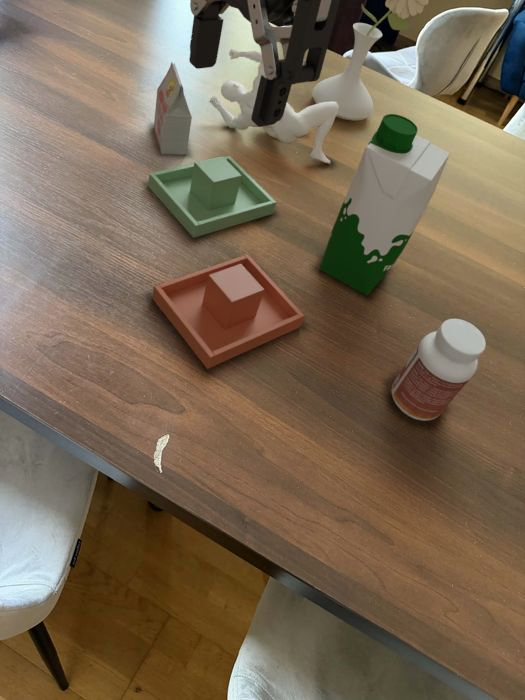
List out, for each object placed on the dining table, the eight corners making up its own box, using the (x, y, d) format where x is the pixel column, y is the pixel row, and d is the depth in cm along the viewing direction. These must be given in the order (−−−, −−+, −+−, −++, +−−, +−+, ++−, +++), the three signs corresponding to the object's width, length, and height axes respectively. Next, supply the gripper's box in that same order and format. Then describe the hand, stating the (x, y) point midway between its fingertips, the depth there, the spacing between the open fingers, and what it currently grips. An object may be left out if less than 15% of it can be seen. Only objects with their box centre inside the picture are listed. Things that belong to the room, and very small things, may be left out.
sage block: (208, 210, 76) (213, 182, 73) (189, 190, 78) (194, 162, 74) (235, 203, 78) (242, 175, 75) (216, 184, 80) (222, 155, 77)
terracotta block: (224, 330, 64) (231, 302, 60) (201, 303, 65) (208, 274, 62) (256, 317, 66) (265, 289, 63) (233, 291, 68) (241, 263, 64)
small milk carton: (178, 128, 88) (186, 63, 80) (186, 154, 84) (195, 88, 76) (153, 126, 86) (160, 60, 79) (161, 153, 82) (168, 86, 75)
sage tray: (193, 238, 73) (195, 225, 71) (147, 186, 77) (149, 173, 76) (273, 213, 80) (276, 202, 78) (227, 167, 84) (229, 155, 83)
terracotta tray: (207, 369, 60) (210, 357, 59) (152, 298, 65) (153, 285, 63) (300, 327, 67) (305, 315, 66) (244, 265, 72) (248, 253, 70)
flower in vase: (305, 114, 99) (356, -51, 81) (313, 85, 107) (361, -72, 88) (377, 137, 100) (443, -21, 81) (379, 107, 108) (441, -44, 89)
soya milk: (336, 237, 80) (394, 100, 65) (394, 268, 78) (467, 136, 63) (310, 270, 74) (366, 128, 59) (371, 304, 73) (445, 168, 58)
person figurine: (338, 64, 89) (235, 34, 80) (363, 126, 84) (256, 101, 75) (296, 127, 99) (201, 106, 90) (316, 185, 95) (218, 169, 85)
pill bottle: (447, 425, 63) (501, 364, 55) (395, 420, 62) (442, 357, 53) (434, 379, 67) (483, 316, 59) (385, 373, 66) (428, 308, 57)
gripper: (165, -224, 34) (143, 52, 46) (317, -135, 28) (247, 153, 41) (262, -204, 38) (219, 45, 50) (413, -123, 32) (323, 136, 45)
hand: (232, 93), depth 45 cm, fingers open, 8 cm apart
